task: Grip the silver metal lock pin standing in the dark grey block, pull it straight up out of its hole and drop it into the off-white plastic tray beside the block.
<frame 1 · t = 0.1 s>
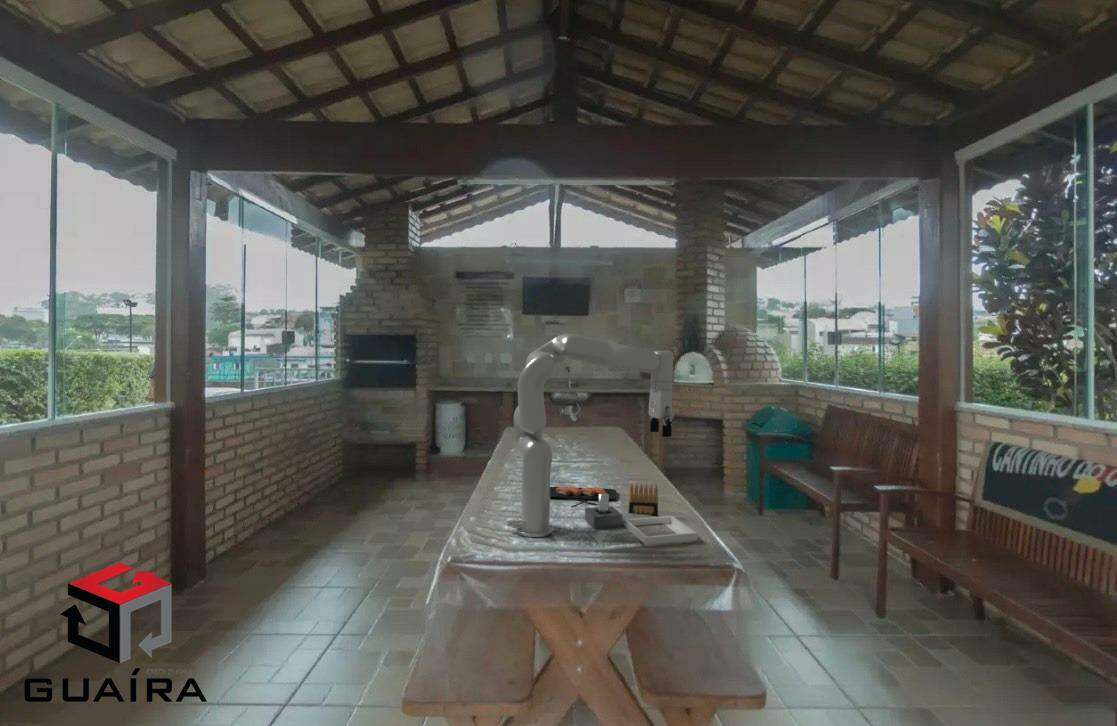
hand: (660, 434, 205), 31 cm above the table, tool pointing down, fingers open, 9 cm apart
sushi plate: (579, 502, 230), on the table
lock pin: (603, 522, 201), point 1 cm above the table, touching pin block
ammunition clip: (643, 516, 213), on the table
tray: (659, 535, 192), on the table
pin block: (603, 525, 201), on the table
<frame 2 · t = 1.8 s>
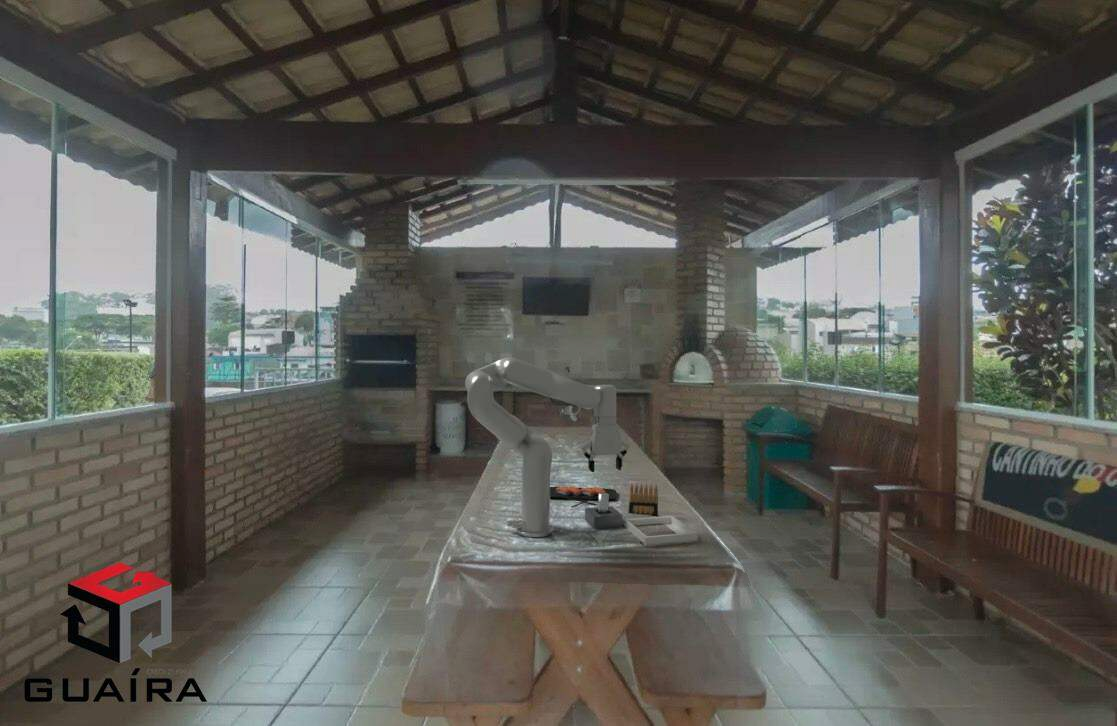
hand: (605, 470, 200), 19 cm above the table, tool pointing down, fingers open, 9 cm apart
nothing on the table moved.
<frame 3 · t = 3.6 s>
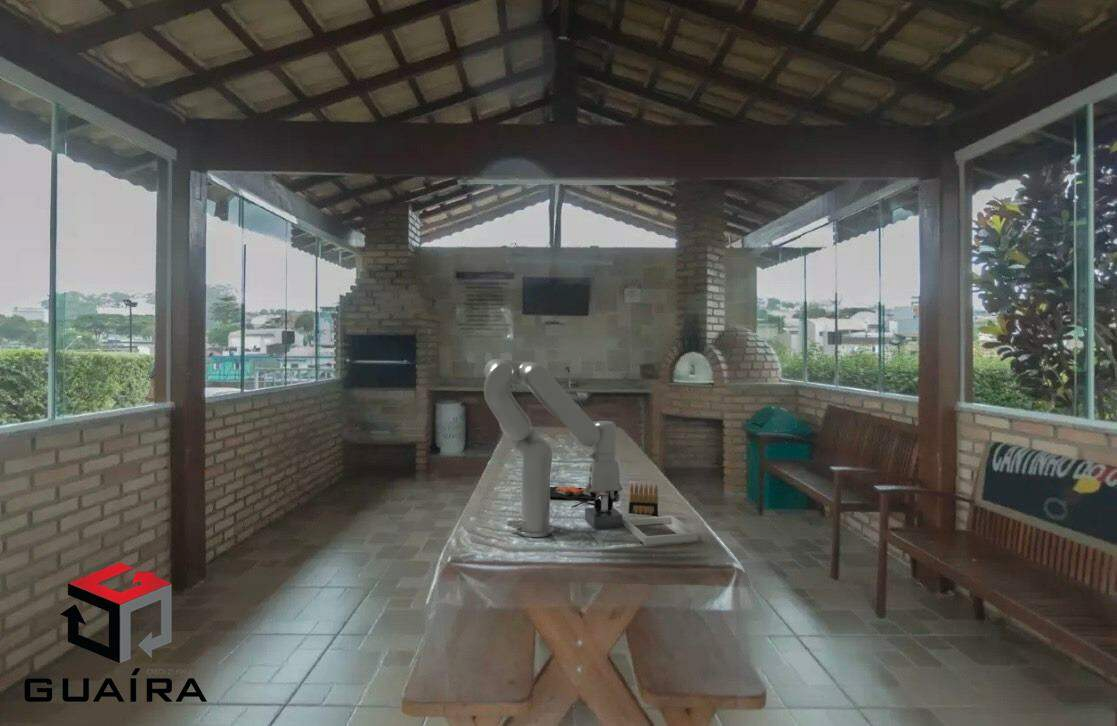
hand: (603, 509, 201), 6 cm above the table, tool pointing down, fingers closed on lock pin, 3 cm apart
lock pin: (603, 522, 201), point 1 cm above the table, touching gripper, pin block
everything else where it was.
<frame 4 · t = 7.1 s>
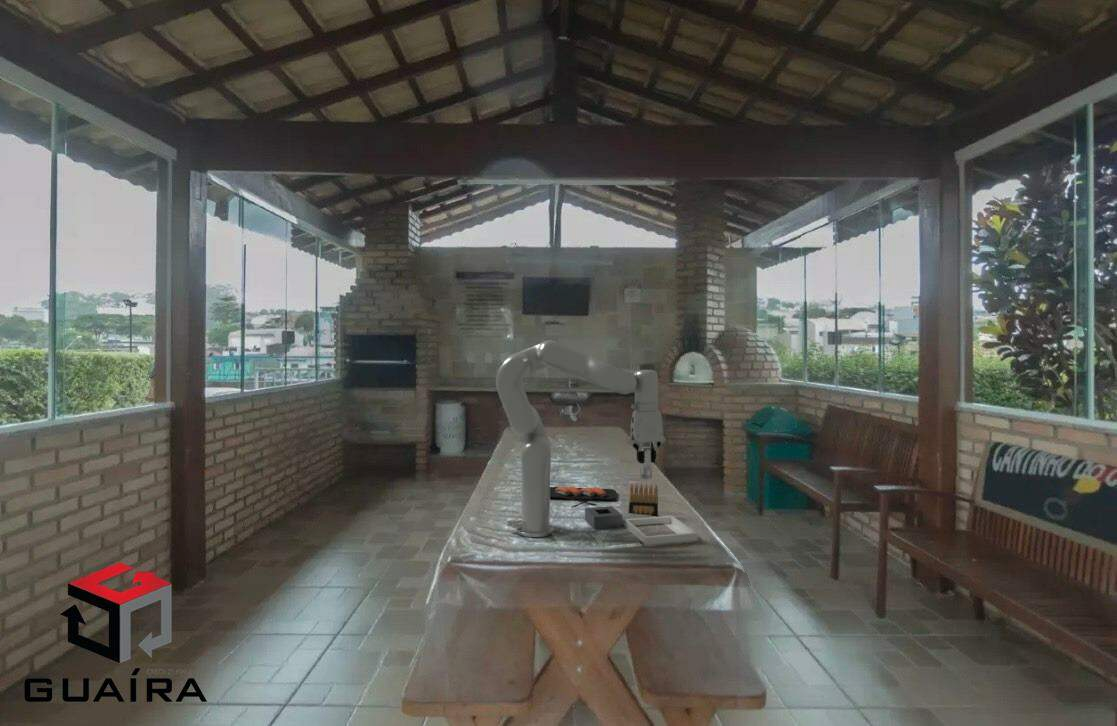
hand: (646, 461, 193), 24 cm above the table, tool pointing down, fingers closed on lock pin, 3 cm apart
lock pin: (646, 477, 194), point 19 cm above the table, touching gripper
everything else where it was.
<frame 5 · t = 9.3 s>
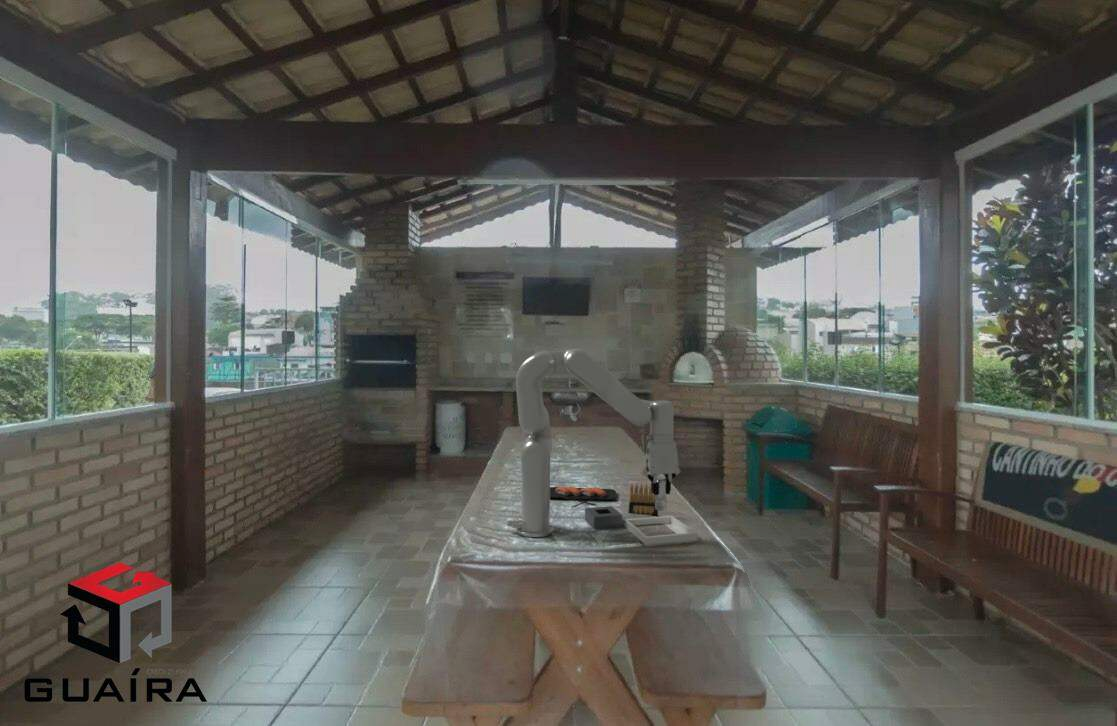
hand: (660, 493, 192), 14 cm above the table, tool pointing down, fingers closed on lock pin, 3 cm apart
lock pin: (660, 509, 192), point 9 cm above the table, touching gripper
everything else where it was.
when the fingers open (8 cm above the table, at t = 10.8 s): lock pin drops 1 cm, resting on tray.
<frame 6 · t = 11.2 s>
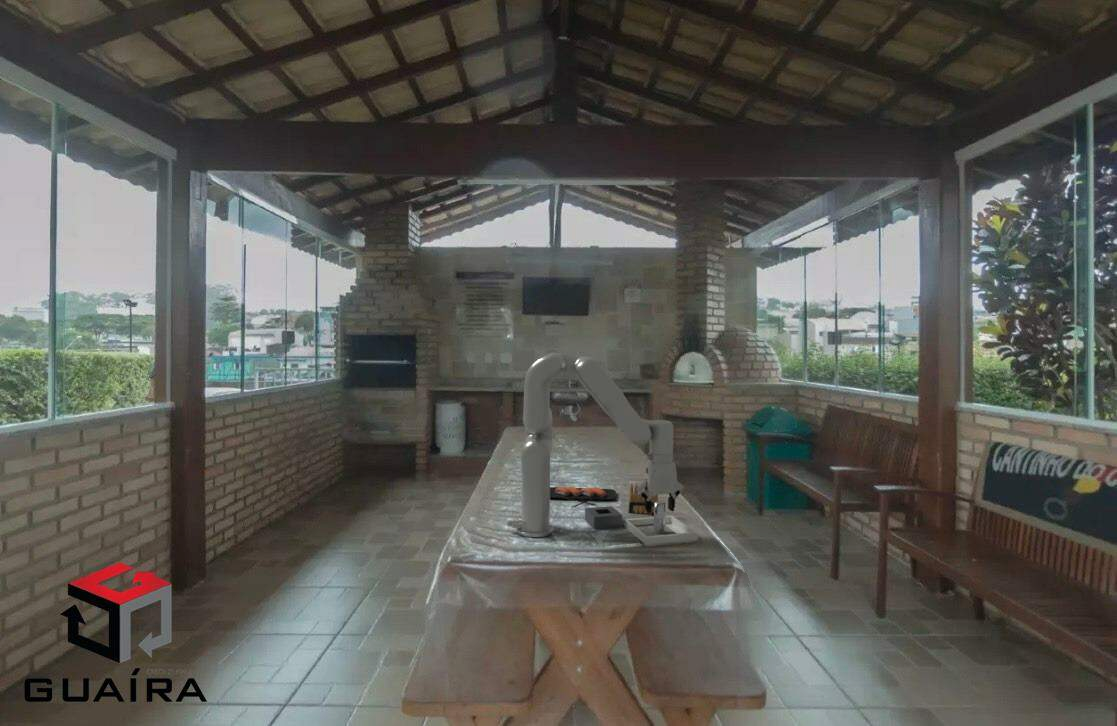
hand: (659, 510, 192), 8 cm above the table, tool pointing down, fingers open, 7 cm apart
lock pin: (659, 532, 192), point 1 cm above the table, touching tray
everything else where it was.
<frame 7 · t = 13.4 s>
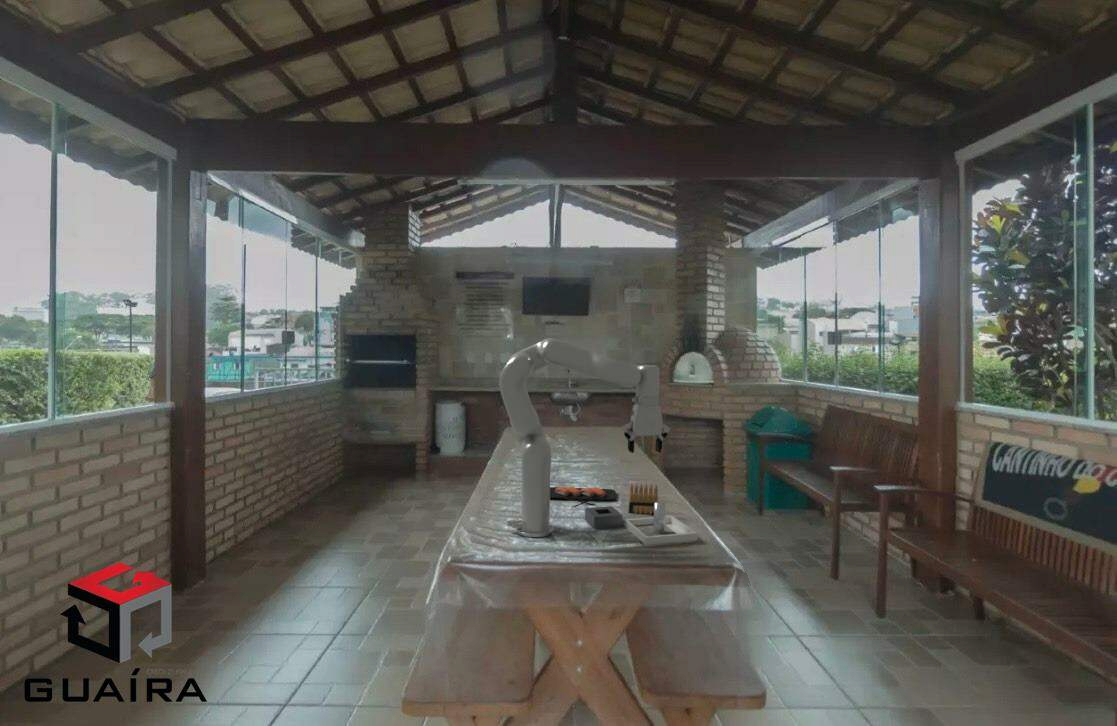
hand: (644, 451, 197), 27 cm above the table, tool pointing down, fingers open, 9 cm apart
nothing on the table moved.
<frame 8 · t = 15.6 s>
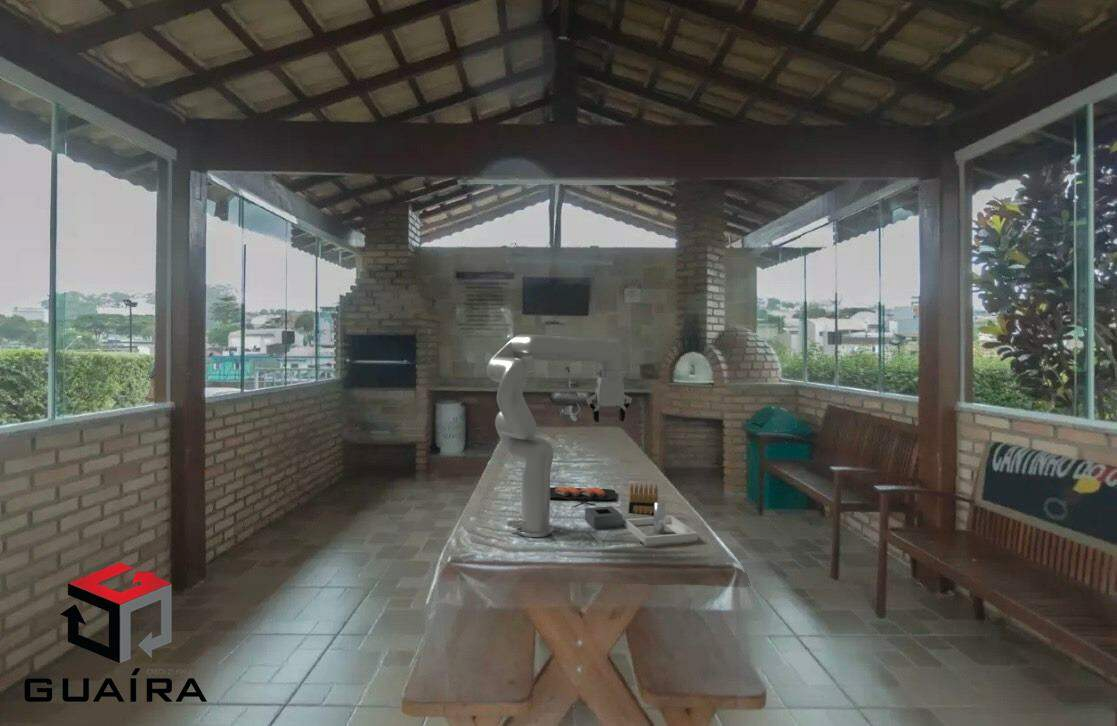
hand: (609, 421, 212), 34 cm above the table, tool pointing down, fingers open, 9 cm apart
at the end: lock pin inside the target area on the tray (0.1 cm from its centre), point 0.8 cm above the tray's base; the gripper is holding nothing; lock pin moved 19.8 cm from its start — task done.
